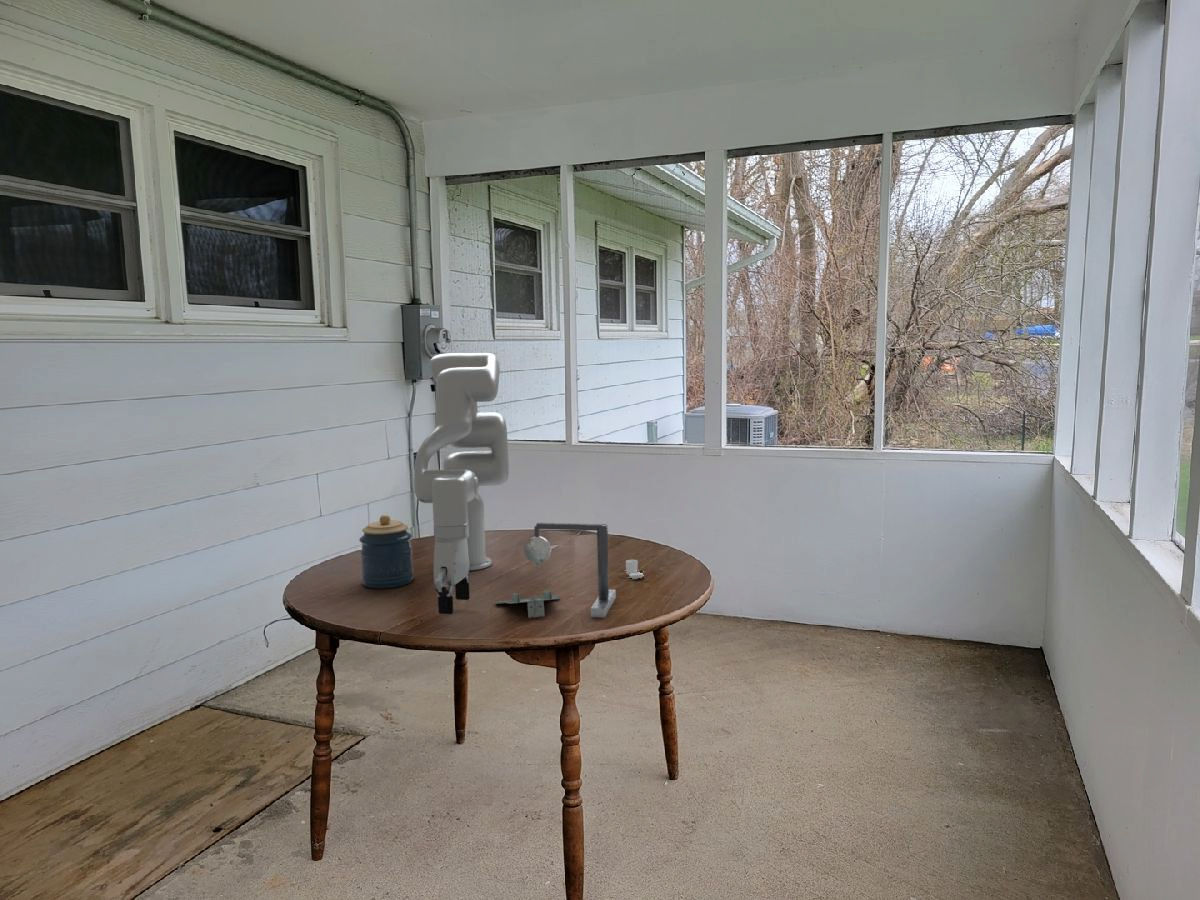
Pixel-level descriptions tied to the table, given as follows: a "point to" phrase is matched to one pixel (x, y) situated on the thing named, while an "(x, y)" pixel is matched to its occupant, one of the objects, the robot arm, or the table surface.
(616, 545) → the table surface
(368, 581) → the canister
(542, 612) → the metal bracket
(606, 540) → the metal desk lamp
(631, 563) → the white ring with cylinder
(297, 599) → the table surface
